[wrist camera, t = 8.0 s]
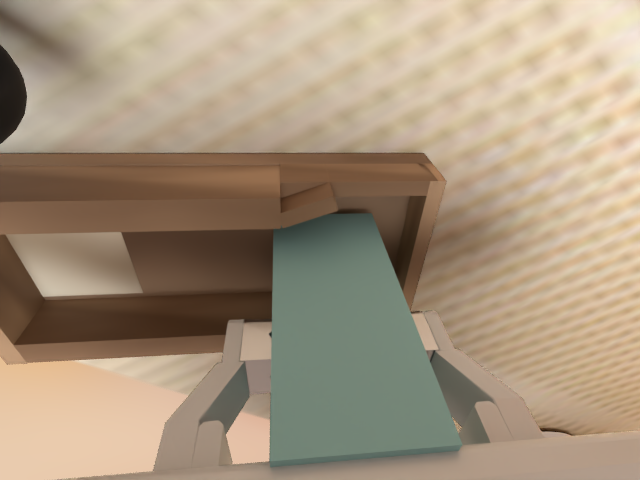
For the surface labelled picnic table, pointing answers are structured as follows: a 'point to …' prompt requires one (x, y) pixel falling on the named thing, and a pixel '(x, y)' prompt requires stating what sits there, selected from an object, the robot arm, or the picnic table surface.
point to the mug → (10, 95)
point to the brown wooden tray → (179, 242)
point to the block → (347, 351)
